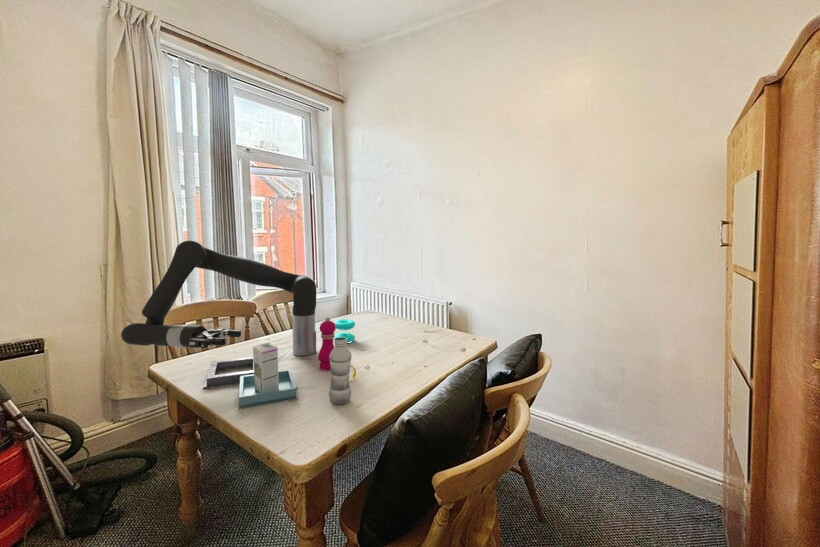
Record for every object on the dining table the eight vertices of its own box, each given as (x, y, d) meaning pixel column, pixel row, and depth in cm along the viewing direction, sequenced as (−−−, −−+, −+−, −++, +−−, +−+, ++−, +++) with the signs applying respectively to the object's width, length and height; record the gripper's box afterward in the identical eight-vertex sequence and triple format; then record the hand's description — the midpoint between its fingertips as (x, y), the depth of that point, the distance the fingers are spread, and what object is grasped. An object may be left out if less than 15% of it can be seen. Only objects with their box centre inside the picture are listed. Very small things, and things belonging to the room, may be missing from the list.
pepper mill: (320, 372, 124) (320, 320, 122) (316, 365, 130) (316, 315, 128) (339, 369, 127) (339, 318, 125) (334, 362, 133) (334, 314, 131)
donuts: (336, 318, 165) (356, 319, 164) (336, 338, 166) (356, 338, 166) (331, 323, 155) (353, 324, 154) (331, 344, 156) (352, 345, 156)
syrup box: (279, 389, 107) (278, 346, 106) (261, 395, 103) (260, 350, 101) (271, 384, 111) (270, 342, 110) (253, 389, 107) (252, 346, 105)
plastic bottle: (330, 396, 106) (330, 335, 103) (352, 396, 106) (352, 335, 104) (327, 407, 99) (327, 342, 97) (350, 406, 100) (350, 342, 98)
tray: (291, 378, 118) (290, 369, 118) (296, 398, 104) (296, 388, 103) (240, 386, 111) (240, 376, 111) (239, 408, 97) (238, 397, 97)
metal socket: (261, 362, 132) (261, 354, 132) (263, 380, 116) (263, 372, 116) (209, 368, 124) (208, 361, 124) (202, 389, 108) (202, 380, 108)
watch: (353, 378, 120) (354, 362, 120) (356, 381, 118) (357, 365, 118) (337, 380, 117) (338, 363, 117) (339, 383, 115) (341, 366, 115)
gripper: (169, 331, 105) (219, 333, 104) (200, 319, 119) (244, 321, 118) (171, 354, 106) (220, 356, 105) (202, 340, 120) (245, 341, 119)
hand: (233, 337), depth 111 cm, fingers open, 8 cm apart
